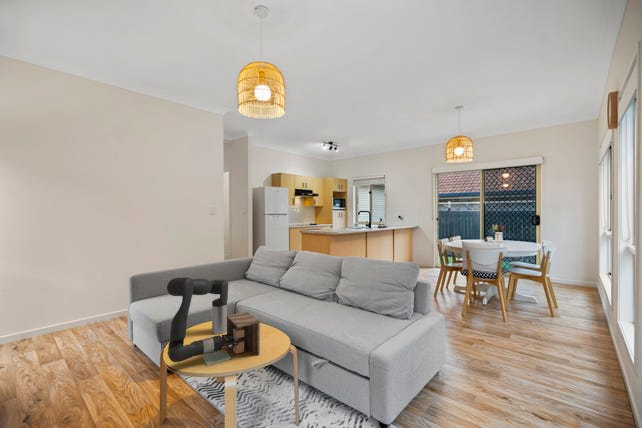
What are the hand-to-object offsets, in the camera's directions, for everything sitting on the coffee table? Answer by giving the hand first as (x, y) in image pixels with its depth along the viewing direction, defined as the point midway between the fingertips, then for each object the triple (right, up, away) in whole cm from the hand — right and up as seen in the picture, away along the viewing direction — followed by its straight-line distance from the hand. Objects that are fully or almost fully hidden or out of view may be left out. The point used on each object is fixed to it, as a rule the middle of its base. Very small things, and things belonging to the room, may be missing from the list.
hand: (243, 337), depth 161 cm
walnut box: (0, -8, 0) cm, 8 cm away
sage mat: (-12, -8, -8) cm, 16 cm away
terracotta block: (-2, -7, -2) cm, 8 cm away
